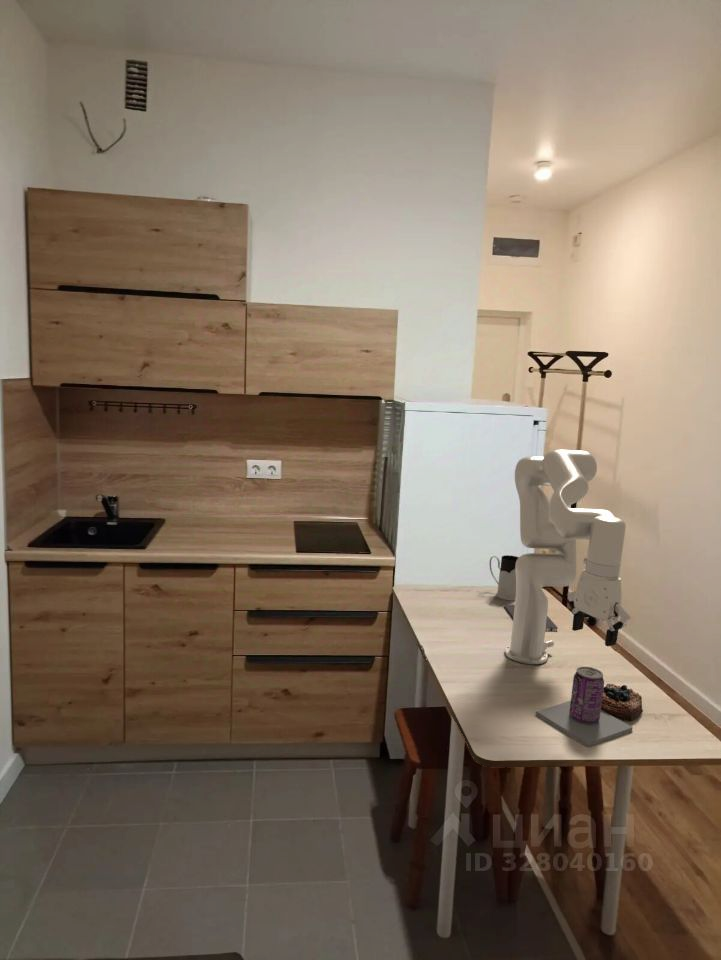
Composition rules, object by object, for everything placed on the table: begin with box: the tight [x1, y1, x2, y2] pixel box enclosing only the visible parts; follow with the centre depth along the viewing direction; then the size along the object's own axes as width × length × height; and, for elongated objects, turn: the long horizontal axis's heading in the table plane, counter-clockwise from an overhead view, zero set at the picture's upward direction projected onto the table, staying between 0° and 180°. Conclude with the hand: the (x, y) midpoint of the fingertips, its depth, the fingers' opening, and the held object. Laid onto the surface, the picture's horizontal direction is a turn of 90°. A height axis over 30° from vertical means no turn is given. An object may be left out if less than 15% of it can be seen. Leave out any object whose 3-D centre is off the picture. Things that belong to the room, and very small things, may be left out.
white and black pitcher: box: [489, 554, 520, 601], centre depth 258 cm, size 9×14×15 cm, turn 41°
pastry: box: [601, 683, 644, 722], centre depth 174 cm, size 11×12×6 cm
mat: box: [535, 700, 634, 748], centre depth 166 cm, size 16×16×1 cm
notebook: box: [503, 604, 559, 632], centre depth 235 cm, size 13×2×21 cm
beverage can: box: [569, 666, 605, 723], centre depth 165 cm, size 7×7×12 cm
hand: (593, 637), depth 162 cm, fingers open, 9 cm apart
